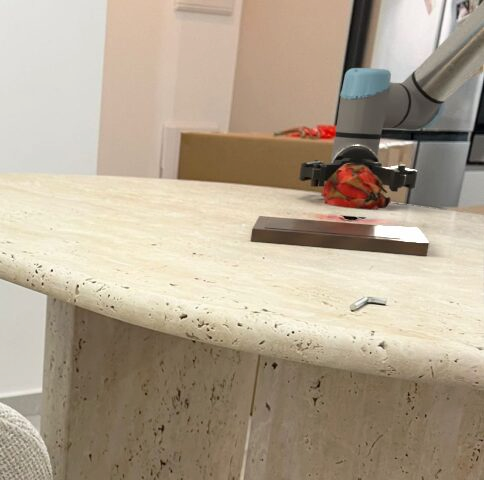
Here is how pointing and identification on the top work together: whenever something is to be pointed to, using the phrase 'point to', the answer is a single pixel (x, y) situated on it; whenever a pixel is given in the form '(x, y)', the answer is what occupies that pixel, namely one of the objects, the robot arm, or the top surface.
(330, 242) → the cutting board
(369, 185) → the dragon fruit
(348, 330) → the top surface
